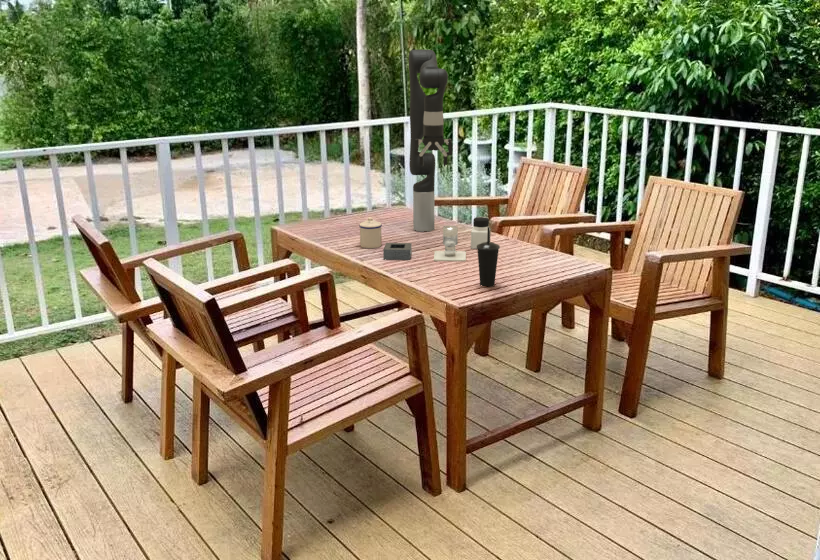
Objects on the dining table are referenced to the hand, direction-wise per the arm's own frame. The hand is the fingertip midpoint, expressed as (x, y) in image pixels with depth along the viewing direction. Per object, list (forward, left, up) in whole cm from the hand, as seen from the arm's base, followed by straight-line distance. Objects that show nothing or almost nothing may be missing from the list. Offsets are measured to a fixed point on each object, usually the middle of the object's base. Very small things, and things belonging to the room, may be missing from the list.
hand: (433, 166), depth 285 cm
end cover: (+13, +7, -32) cm, 35 cm away
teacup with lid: (-3, -26, -33) cm, 42 cm away
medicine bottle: (-2, +19, -33) cm, 38 cm away
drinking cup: (+47, +20, -33) cm, 61 cm away
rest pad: (+13, +7, -33) cm, 36 cm away
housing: (+13, -13, -33) cm, 37 cm away
